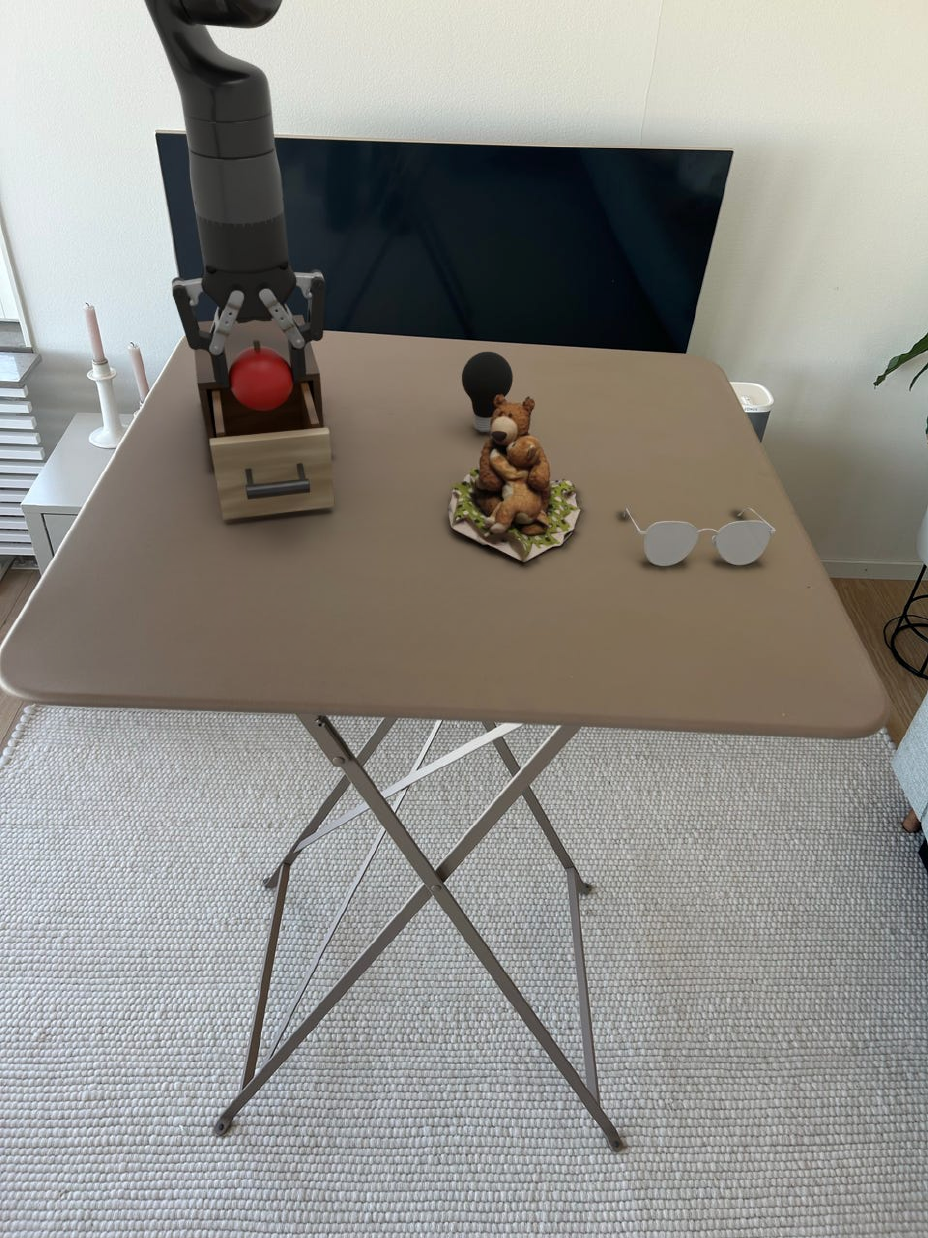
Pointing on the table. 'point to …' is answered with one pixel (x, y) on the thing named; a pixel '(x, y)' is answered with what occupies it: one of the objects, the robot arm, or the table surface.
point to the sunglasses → (732, 540)
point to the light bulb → (486, 385)
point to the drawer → (271, 456)
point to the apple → (260, 378)
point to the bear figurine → (513, 490)
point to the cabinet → (240, 341)
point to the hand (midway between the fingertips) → (261, 381)
